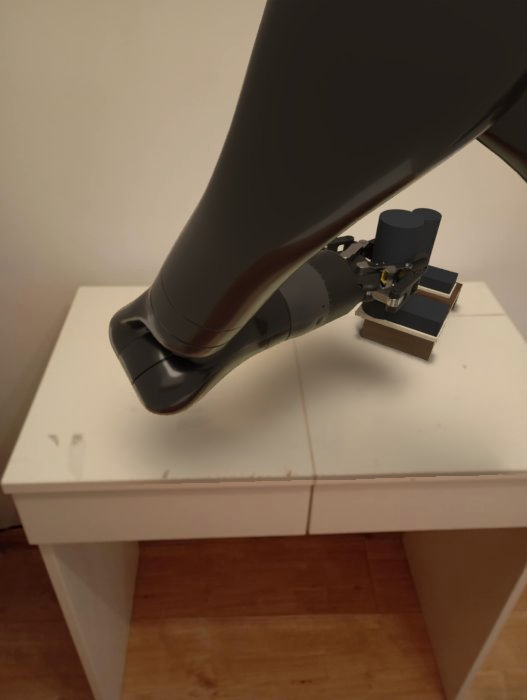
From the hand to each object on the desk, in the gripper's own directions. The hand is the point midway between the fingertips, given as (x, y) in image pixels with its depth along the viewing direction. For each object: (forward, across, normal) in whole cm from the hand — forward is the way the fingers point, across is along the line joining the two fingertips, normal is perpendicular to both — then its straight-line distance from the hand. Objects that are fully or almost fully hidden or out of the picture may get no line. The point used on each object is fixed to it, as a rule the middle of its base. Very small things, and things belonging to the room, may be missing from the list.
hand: (406, 251), depth 58 cm
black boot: (+24, +10, +19) cm, 33 cm away
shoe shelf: (+19, +8, +24) cm, 32 cm away
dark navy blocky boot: (-1, -3, +8) cm, 9 cm away
